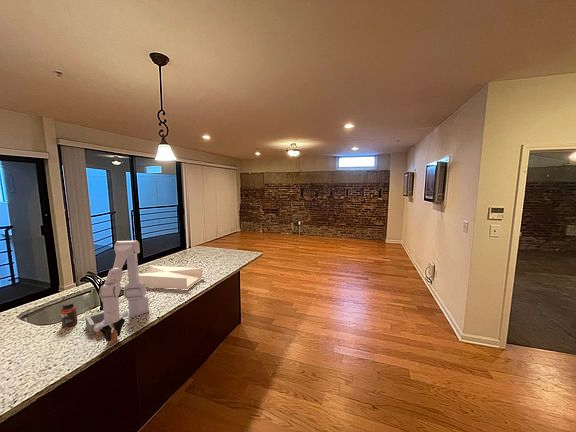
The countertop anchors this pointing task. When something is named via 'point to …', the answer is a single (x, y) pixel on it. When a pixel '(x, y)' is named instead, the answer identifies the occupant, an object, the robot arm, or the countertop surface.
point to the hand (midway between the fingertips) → (113, 338)
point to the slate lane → (93, 321)
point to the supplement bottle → (68, 314)
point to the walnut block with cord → (113, 334)
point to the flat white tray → (171, 277)
